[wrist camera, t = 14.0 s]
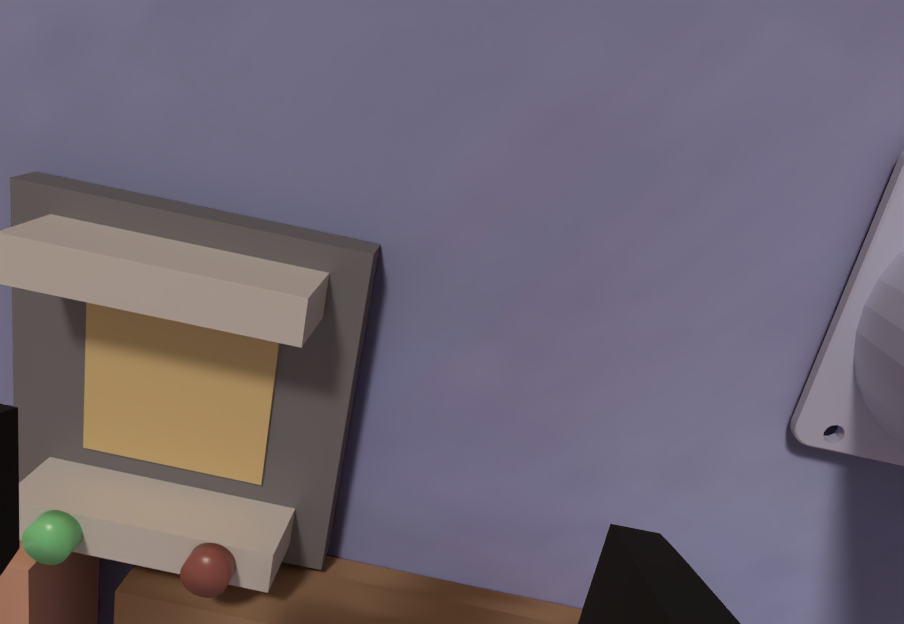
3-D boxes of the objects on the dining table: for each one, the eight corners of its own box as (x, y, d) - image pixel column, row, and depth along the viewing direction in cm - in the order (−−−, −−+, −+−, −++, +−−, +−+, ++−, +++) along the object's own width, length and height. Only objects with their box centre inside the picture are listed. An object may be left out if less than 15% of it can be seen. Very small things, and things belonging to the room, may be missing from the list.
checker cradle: (380, 244, 18) (352, 286, 15) (329, 547, 21) (296, 639, 18) (36, 171, 18) (-72, 196, 15) (36, 486, 21) (-52, 566, 18)
